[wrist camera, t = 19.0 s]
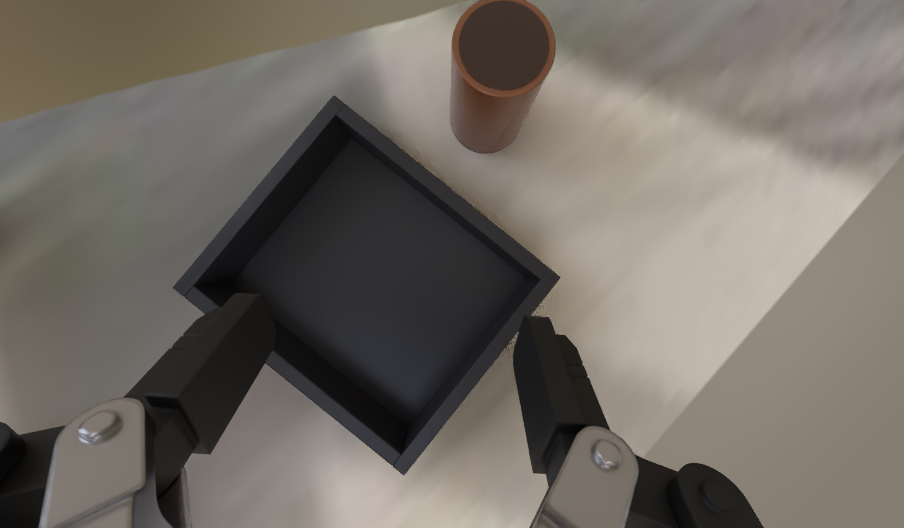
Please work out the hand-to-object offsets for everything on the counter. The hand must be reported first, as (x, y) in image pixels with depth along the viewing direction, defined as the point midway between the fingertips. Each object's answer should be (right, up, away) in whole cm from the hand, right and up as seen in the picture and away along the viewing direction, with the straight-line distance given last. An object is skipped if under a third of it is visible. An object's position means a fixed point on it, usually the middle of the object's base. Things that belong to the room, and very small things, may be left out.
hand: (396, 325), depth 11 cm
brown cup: (+5, +14, +18) cm, 23 cm away
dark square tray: (-4, +1, +17) cm, 17 cm away
